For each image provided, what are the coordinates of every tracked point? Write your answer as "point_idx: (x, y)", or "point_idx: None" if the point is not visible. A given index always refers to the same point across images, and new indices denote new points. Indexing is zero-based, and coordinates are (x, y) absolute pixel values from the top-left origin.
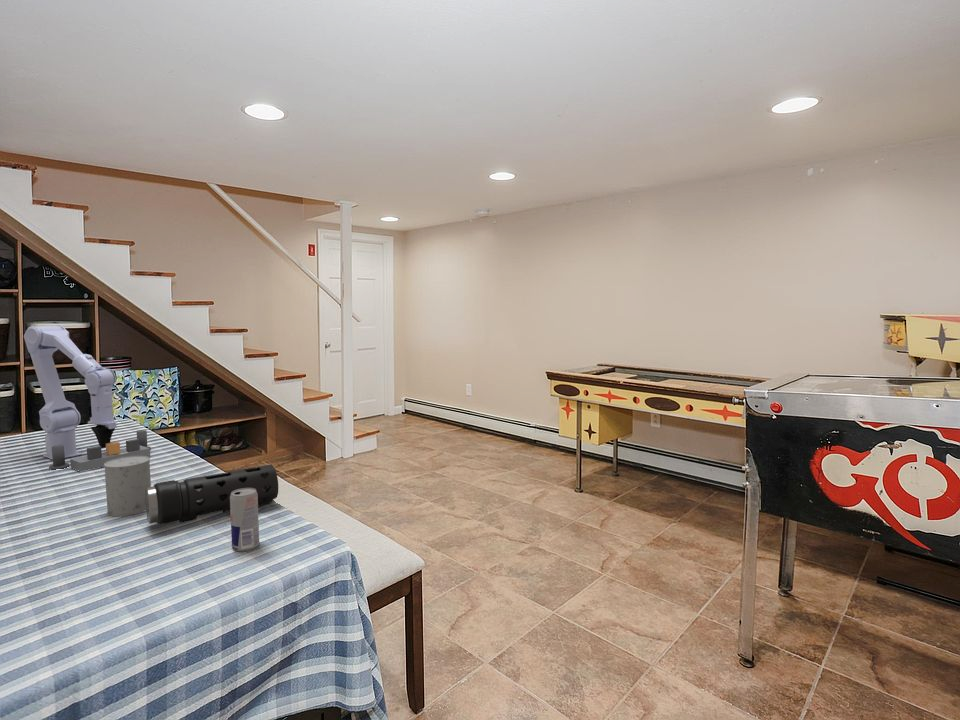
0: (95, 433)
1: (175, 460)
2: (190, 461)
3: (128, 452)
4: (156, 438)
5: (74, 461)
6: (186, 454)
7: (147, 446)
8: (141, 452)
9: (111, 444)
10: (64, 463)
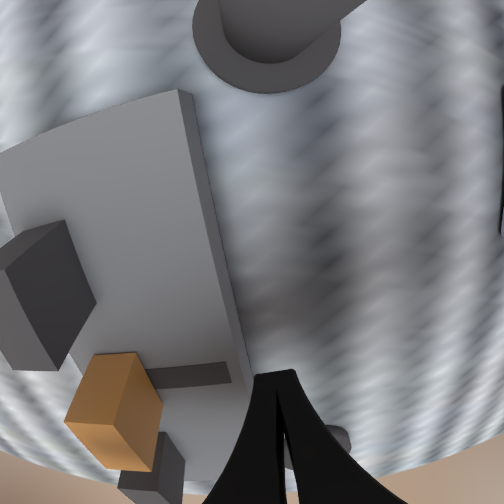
0: (331, 485)
1: (68, 454)
2: (41, 459)
3: None
4: (448, 455)
5: (83, 118)
6: None
7: None
8: None
9: (76, 433)
10: (240, 52)
